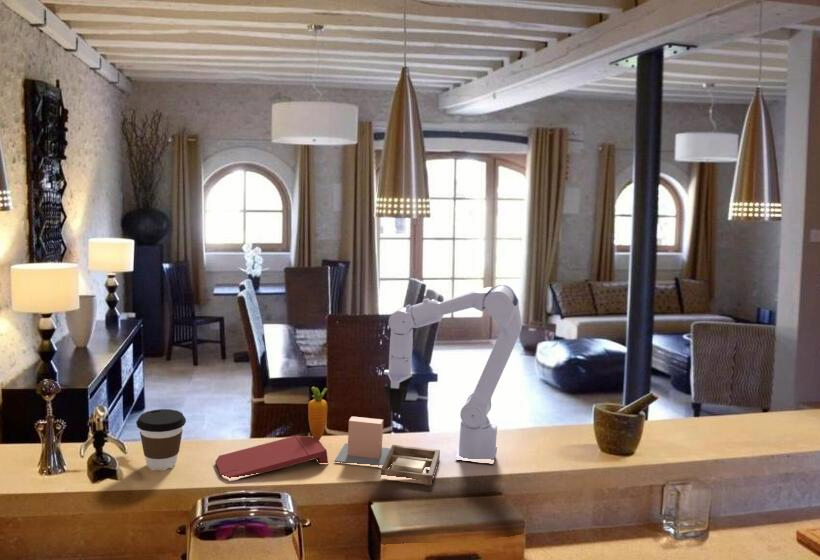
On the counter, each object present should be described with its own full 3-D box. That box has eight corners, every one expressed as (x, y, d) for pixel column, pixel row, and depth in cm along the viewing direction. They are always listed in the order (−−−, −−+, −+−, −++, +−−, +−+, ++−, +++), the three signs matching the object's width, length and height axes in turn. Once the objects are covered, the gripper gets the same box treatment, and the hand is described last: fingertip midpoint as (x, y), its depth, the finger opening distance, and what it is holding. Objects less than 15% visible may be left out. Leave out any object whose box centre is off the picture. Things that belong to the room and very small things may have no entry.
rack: (439, 459, 194) (439, 450, 194) (431, 485, 180) (432, 475, 179) (391, 454, 196) (392, 444, 196) (380, 479, 181) (380, 469, 181)
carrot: (328, 439, 203) (330, 384, 200) (324, 446, 198) (326, 390, 195) (309, 437, 203) (311, 382, 201) (304, 445, 199) (306, 388, 196)
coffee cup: (130, 461, 184) (129, 413, 182) (175, 452, 190) (175, 405, 188) (146, 479, 175) (145, 428, 173) (193, 468, 182) (193, 419, 180)
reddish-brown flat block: (226, 497, 177) (331, 468, 186) (223, 478, 176) (328, 449, 185) (216, 475, 188) (315, 448, 197) (213, 456, 187) (313, 430, 196)
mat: (391, 450, 198) (391, 448, 198) (383, 468, 187) (383, 466, 187) (345, 445, 200) (345, 443, 200) (334, 463, 189) (334, 460, 189)
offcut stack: (426, 474, 186) (426, 460, 186) (423, 483, 181) (423, 469, 181) (392, 470, 187) (393, 456, 187) (389, 479, 182) (389, 465, 182)
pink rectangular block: (381, 453, 194) (383, 419, 193) (379, 458, 191) (381, 424, 190) (350, 450, 195) (351, 416, 194) (347, 455, 192) (348, 420, 191)
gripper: (390, 346, 205) (387, 395, 207) (379, 362, 191) (377, 414, 193) (416, 348, 204) (414, 398, 206) (408, 364, 190) (405, 417, 192)
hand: (398, 406), depth 200 cm, fingers open, 7 cm apart
